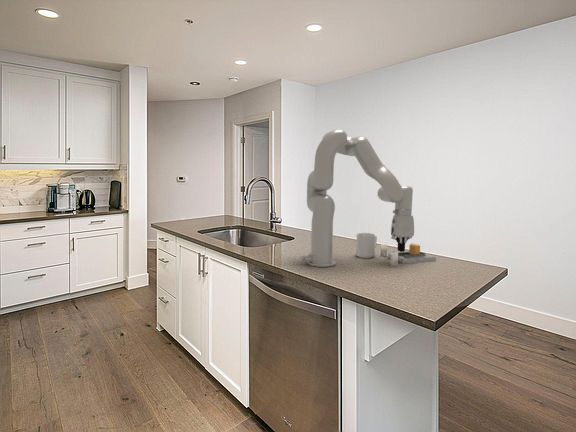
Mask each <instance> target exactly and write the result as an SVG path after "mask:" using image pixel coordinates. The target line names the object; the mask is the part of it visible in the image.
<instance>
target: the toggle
mask: <svg viewBox="0 0 576 432" xmlns="http://www.w3.org/2000/svg"><path fill="white" fill-rule="evenodd" d="M408 247H409V248H408V249H409V251H408V252H409V254H412V255H414V254H420V252H421V245H420V244H419V243H415V242H413V243H410V244H409V246H408Z"/></svg>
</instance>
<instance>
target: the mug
mask: <svg viewBox="0 0 576 432" xmlns="http://www.w3.org/2000/svg"><path fill="white" fill-rule="evenodd" d="M377 240H378V236H377V235H376V234H374V233H371V232H368V233H367V232H359V233H356V243H355V244H356V245H355V246H356V248H355V251H356V252H355V253H356V254H355V255H356V256H357V257H358V258H361V259H373V257H375V252H376V251H375V249H376V248H377Z"/></svg>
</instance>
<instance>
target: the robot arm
mask: <svg viewBox="0 0 576 432" xmlns="http://www.w3.org/2000/svg"><path fill="white" fill-rule="evenodd" d="M337 154H340V155H344V156H349V157H355V159H356V161H357V162H358V163H359V165H360V167H361V168H362V170H363V172H364V173H365V174H366V175H367V176H368V177H370V178H371V179H373V180H375V181H376V182H377V183H378V184H379V186H380V188H379V189H378V190H377V197H378V198H379V200H380V201H383V202H386V203H394V204H395V205H394V210H392V213H393V214H394V215H393V216H392V220H391V226H390V235H391V237H390V239H391V240H395V241H396V243H397V252H406V250H405V249H406V244H407V242H408V240H411V239H412V238H413V237H414V235H415V221H414V216H413V215H412V212H413V210H412V209H413V192H414V190H413V187H411V186H409V185H401V184H400V182H399V180H398V179H397V177H396V176H395V175H394V173H392V172H391V171H390V169H388V168H387V167H386V165H385V164H383V162H382V161H381V159H380V158H379V156H378V155H377V153H376V151H375V149H374V147H373V145H372V144H371V143H370V141H369V139H368V138H367V137H364V136H357V137H355V136H354V137H349V136H348V134H347V132H346V131H345V130H342V129H334V130H332V131H329V132H327V133H325V134H324V135H323V136H322V139H321V141H320V142H319V144H318V146H317V147H316V151H315V154H314V163H313V164H314V165H313V170H312V171H311V172H310V173H309V175H308V177H307V181H306V182H307V183H306V206H307V208H308V209H309V211H310V212H312V217H311V228H310V229H311V233H310V234H311V239H310V240H311V241H310V242H311V244H310V247H311V248H310V252H309V253H308V254H307V255H300V260H301V261H306V262H307V264H308V265H309V266H311V267H319V268H328V267H333V266H335V265H336V264H337V263H336V260H335V259H333V246H334V245H333V241H334V240H333V239H334V238H333V237H334V236H333V235H334V216H335V211H336V209H335V208H336V205H335V200H334V199H333V198H332V197H331V196H330V195H329V194H327V193H328V192H327V191H328V190H330V189H331V188H332V187H333V184H334V175H335V174H334V169H335V168H334V167H335V157H336V156H337Z"/></svg>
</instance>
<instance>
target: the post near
mask: <svg viewBox="0 0 576 432" xmlns="http://www.w3.org/2000/svg"><path fill="white" fill-rule="evenodd" d="M398 253H399V251H391V252H390V254H391V259H390V267H393V268H394V267H395V268H396V267H398V263H399V262H398Z"/></svg>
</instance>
